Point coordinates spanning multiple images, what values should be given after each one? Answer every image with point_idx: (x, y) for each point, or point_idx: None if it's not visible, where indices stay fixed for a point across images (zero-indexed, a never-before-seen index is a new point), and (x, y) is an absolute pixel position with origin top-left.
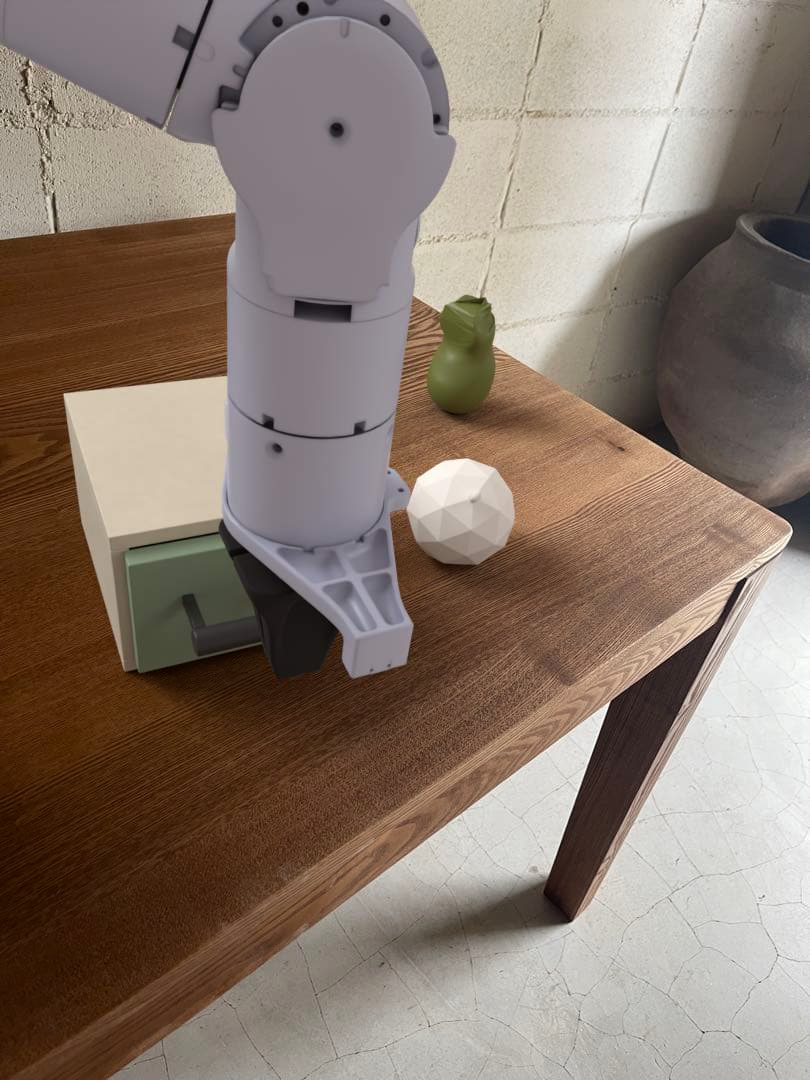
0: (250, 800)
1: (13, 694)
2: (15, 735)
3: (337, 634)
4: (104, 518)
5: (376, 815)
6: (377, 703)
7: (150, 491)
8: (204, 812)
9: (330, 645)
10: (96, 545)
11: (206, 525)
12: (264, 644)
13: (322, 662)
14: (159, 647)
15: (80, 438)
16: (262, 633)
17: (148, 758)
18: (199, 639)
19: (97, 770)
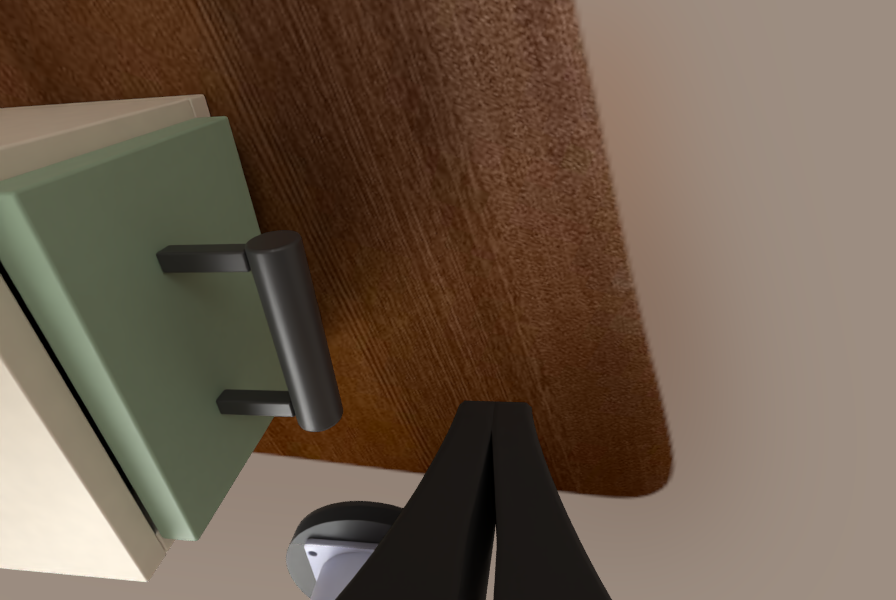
0: (509, 291)
1: (307, 456)
2: (359, 461)
3: (549, 483)
4: (100, 577)
5: (600, 140)
6: (392, 54)
7: (7, 516)
8: (506, 339)
9: (545, 462)
10: None
11: (82, 457)
12: (491, 554)
13: (532, 418)
14: (278, 377)
15: None
16: (486, 590)
17: (416, 372)
18: (324, 426)
19: (419, 414)
